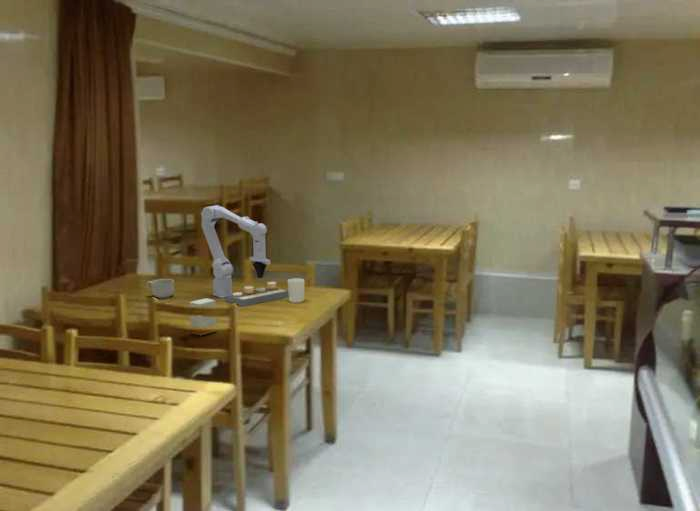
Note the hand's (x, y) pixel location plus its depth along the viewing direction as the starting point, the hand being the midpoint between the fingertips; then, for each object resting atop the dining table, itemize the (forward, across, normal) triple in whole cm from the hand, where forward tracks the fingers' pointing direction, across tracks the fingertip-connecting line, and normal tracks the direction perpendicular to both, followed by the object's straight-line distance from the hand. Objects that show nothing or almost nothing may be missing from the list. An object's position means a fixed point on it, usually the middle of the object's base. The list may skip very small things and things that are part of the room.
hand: (260, 277), depth 316 cm
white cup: (+10, +17, +8) cm, 22 cm away
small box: (+10, +33, -50) cm, 61 cm away
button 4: (+8, -1, +7) cm, 10 cm away
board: (+10, +1, -3) cm, 10 cm away
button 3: (+10, -1, 0) cm, 10 cm away
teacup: (+10, -38, -32) cm, 51 cm away
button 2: (+8, -1, -6) cm, 10 cm away
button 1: (+10, -1, -12) cm, 16 cm away
